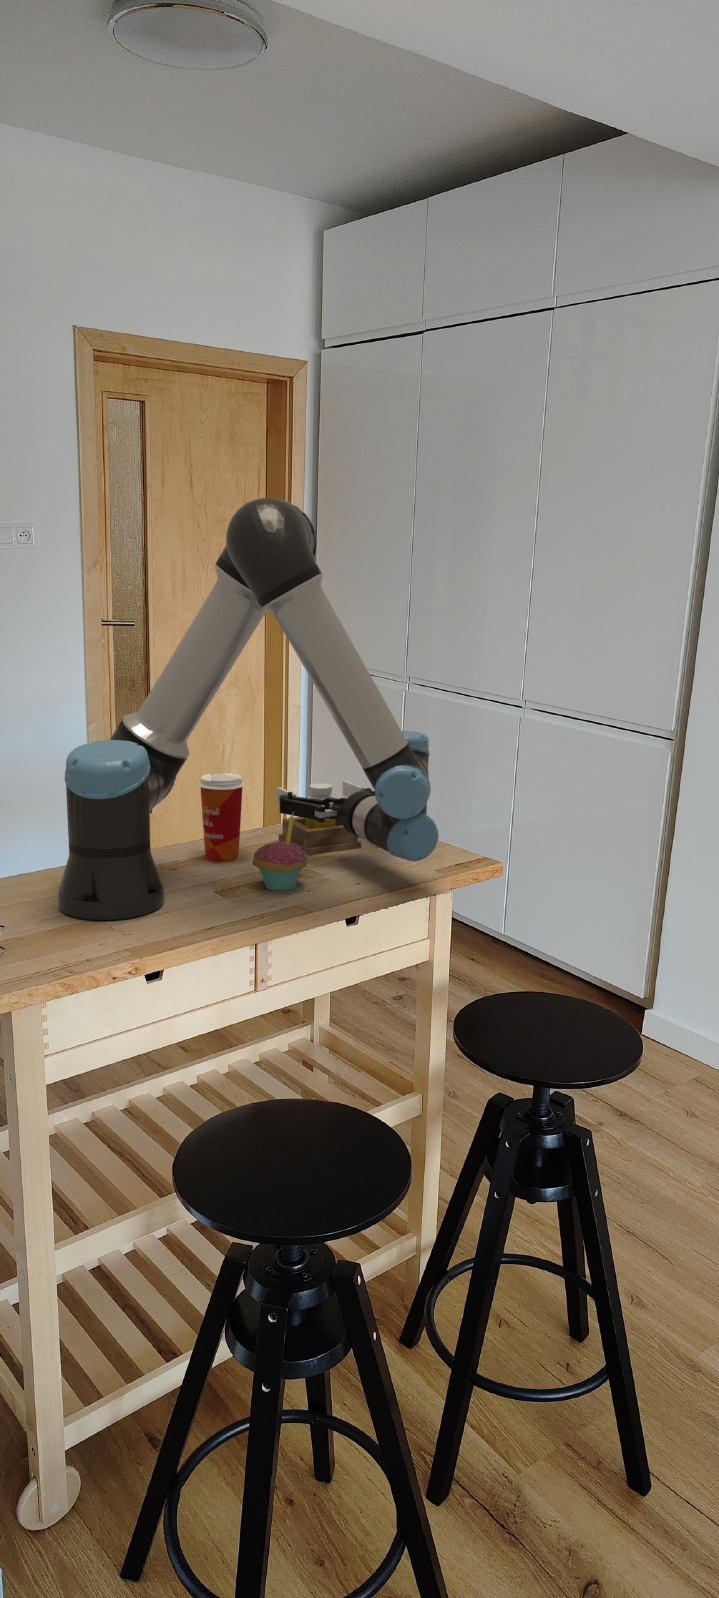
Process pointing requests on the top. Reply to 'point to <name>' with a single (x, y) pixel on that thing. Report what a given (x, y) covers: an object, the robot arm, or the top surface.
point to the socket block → (319, 837)
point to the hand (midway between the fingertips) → (311, 791)
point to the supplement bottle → (321, 793)
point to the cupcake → (280, 862)
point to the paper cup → (221, 815)
